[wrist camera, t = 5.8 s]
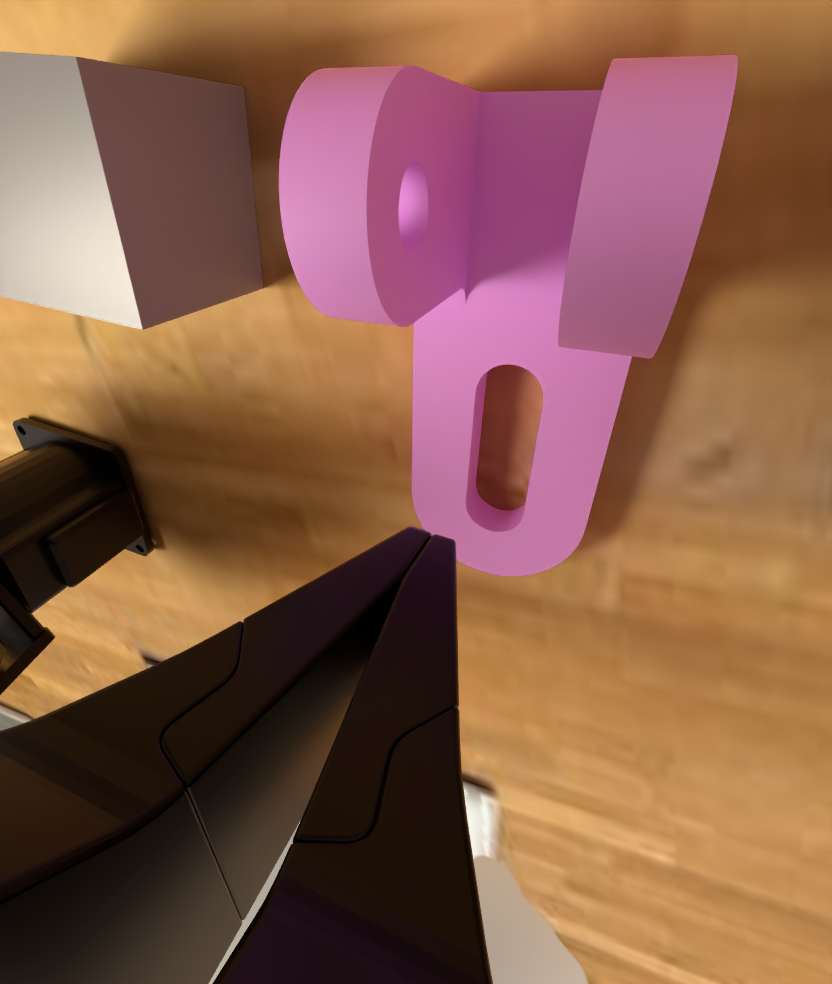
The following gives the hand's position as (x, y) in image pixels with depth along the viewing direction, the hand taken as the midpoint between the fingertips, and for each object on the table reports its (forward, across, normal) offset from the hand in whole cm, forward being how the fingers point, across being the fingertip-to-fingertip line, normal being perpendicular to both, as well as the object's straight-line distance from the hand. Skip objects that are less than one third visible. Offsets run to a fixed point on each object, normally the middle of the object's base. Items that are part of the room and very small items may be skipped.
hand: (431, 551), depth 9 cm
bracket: (+8, 0, 0) cm, 8 cm away
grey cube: (+8, +11, -4) cm, 14 cm away
